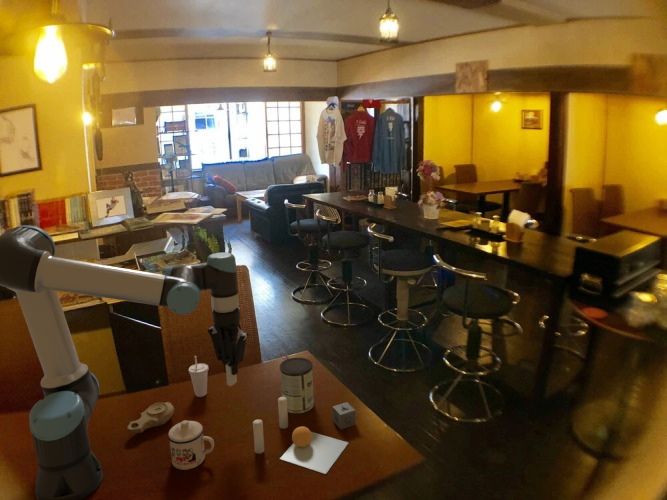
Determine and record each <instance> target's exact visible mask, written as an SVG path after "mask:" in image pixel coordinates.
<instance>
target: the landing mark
mask: <svg viewBox="0 0 667 500" xmlns="http://www.w3.org/2000/svg"><path fill="white" fill-rule="evenodd" d="M310 432H311V434H312V439H311V442H310V443H309V445H307V446H306V447H298V446H296V445H295V444H294V442H293V443H292V444H291V445H290V447H288V448H287V450H286V451H285V452H284V453H283V454H282V456H281V457H280V458H279V460H281V461H284V462H287V463H290V464H293V465H296V466H299V467H302V468H306V469H307V470H311V471H315V472H318V473H320V474H323V475H327V474H328V473H329V471H330V469H331V468H332V467H333V465H334V464H335V463H336V462H337V460H338V459H339V457H340V456H341V454H342V453H343V452H344V450H345V449H346V448H347V446H348V445H349V442H348V441H344V440H341V439H337V438H334V437H331V436H327V435H323V434H320V433H318V432H317V433H316V432H314V431H310Z"/></svg>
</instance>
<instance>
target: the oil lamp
mask: <svg viewBox="0 0 667 500" xmlns="http://www.w3.org/2000/svg"><path fill="white" fill-rule="evenodd" d="M174 412H175V407H174V405H173V404H172V403H171V402H169V401H167V402H156V403H153V404H151V405H150V406H148V408H146V409H145V410H144V411H143V412H140V418H139V419H136V420H134V421H133V420H132V421H129V424H128V425H127V426H126V427H127V428H126V429H127V431H128V432H129V433H131V434H138V433H139V434H140V433H141V434H142V433H143V432H144V431H145V430H147V429H149V428H153V427H160V426H163V425H164V424H166V423H167V422H169V420H170V419H171V418H172V417H173V414H175V413H174Z"/></svg>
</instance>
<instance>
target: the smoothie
mask: <svg viewBox="0 0 667 500" xmlns="http://www.w3.org/2000/svg"><path fill="white" fill-rule="evenodd" d="M197 358H198V357H197V355H194V363H195V364H192V365H190V366H189V368H188V373H189V375H190V378H191V383H192V387H193V391H194V394H195V397H198V398H202V397H205V396H206V395H207V393H208V391H207V390H208V371H209V370H210V369H209V365H208V364H206V363H198V361H197Z"/></svg>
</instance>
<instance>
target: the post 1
mask: <svg viewBox="0 0 667 500" xmlns="http://www.w3.org/2000/svg"><path fill="white" fill-rule="evenodd" d="M252 428H253V445H254V453H255V454H257V455H258V454H259V455H260V454H263V453H264V452H265V440H264V425H263V420H262V419H254V420H253V421H252Z"/></svg>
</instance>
